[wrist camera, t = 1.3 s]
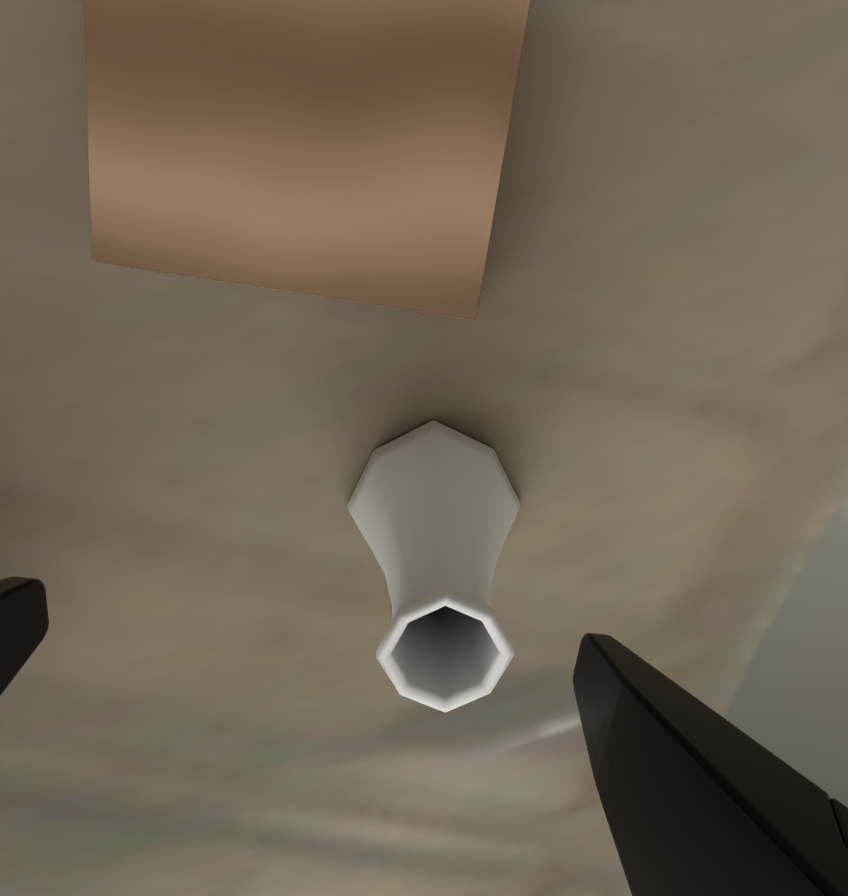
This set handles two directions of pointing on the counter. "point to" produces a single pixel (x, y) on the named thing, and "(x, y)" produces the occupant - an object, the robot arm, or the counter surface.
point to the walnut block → (303, 142)
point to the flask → (438, 561)
